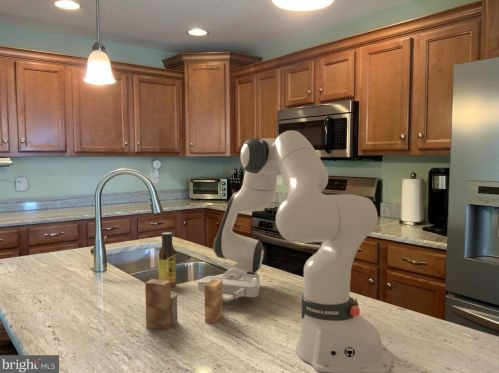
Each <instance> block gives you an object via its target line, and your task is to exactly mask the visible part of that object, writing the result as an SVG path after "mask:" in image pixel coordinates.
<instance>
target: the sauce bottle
mask: <svg viewBox="0 0 499 373" xmlns="http://www.w3.org/2000/svg"><path fill="white" fill-rule="evenodd" d="M173 236H174V235H173V232H162V233H161V247H160V248H159V251H158V280H167V281H171V288H174V287H175V286H176V282H177V274H176V272H177V270H176V269H177V266H176V265H177V259H176V258H177V256H176V255H177V254H176V252H175V251H176V250H175V248H174V245H173Z"/></svg>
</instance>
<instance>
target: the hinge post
mask: <svg viewBox="0 0 499 373" xmlns="http://www.w3.org/2000/svg"><path fill="white" fill-rule="evenodd" d="M144 284H145V285H144V287H145V326H146V327H145V328H146V329H154V330H159V331H160V330H161V331H167V330H168V329H169V328H170V327H171V326H174V325H175V324H176V323H177V322H178V294H172V287H171V281H167V280H159V279H155V278H151V279H150V280H148V281H146V282H145V283H144Z"/></svg>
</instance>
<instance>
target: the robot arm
mask: <svg viewBox="0 0 499 373" xmlns="http://www.w3.org/2000/svg"><path fill="white" fill-rule="evenodd" d="M240 165H241V167H242V168H243V170H244V171H245V172H244V176H243V180H242V185H241V188H240V189H239V190H238V191H235V192H234V193H233V194H232V195H231V197H230V199H229V200H228V203H227V205H226V209H225V212H224V214H223V217H222V220H221V223H220V226H219V228H218V231H217V233H216V236H215V238H214V241H213V244H212V250H213V253H215V255H216V257H217V258H220V259H223V260H229V261H232V262H235V264H234V265H233V266H232V267H230V268H228V269H227V270H226V271H225V272H224V273H223V275H222V276H217V275H216V276H215V275H208V276H207V275H206V276H205V277H202V278H200V279H199V280H198V281H197V290H198V292H199V293H204V294H203V295H204V296H205V285H206V284H207V283H209V282H210V281H211V280H212V279H214V280H222V290H223V295H227V296H232V298H233V299H238V298H242V297H247V298H257V297H258V296H259V295H260V286H261V284H260V283H261V281H260V273H258V272H259V270H260V269H261V267H262V265H263V262H264V259H265V252H266V251H265V248H264V246H263V245H264V244H263V243H262V242H261V241H260V240H259V239H258V240H257V239H254V238H251V237H248V236H244V235H241V234H238V233H236V232H235V231H233V229H234V225H235V223H236V220H237V216H238V214H239V213H242V212H248V211H249V212H250V211H251V212H252V211H258V210H262V209H264V208H266V207H267V206H269V205H270V204H271V203H272V201H273V199H274V196H275V193H276V192H275V191H276V187H277V183H278V182H277V181H278V176H282V177H283V180H284V182H285V185H286V188H287V197H286V199H284V200H283V201H282V202H281V203H280V205H279V206H278V208H277V210H276V215H275V225H276V228H277V231H278V232H279V234H280V235H281V237H282V238H283V239H285V240H286V241H288V242H289V241H290V242H296V243H303V244H304V243H305V244H308V243H309V244H310V243H319V242H321V246H320V247H319V249H318V250H317V252H315V253H314V254H313V255H312V256H310V257H309V258H308V259H307V260H306V261H305V264H304V266H303V293H302V295H301V300H300V308H301V309H300V314H301V320H302V321H301V327H300V328H301V329H300V335H299V337H298V338H299V339H298V342H297V346H296V348H295V349H296V354H297V356H298V357H299V358H300V359H301V360H303V361H304V362H306V363H308V364H309V365H311V366H312V368H314V369H315V370H316V371H317V372H320V373H390V371H391V370H392V366H393V360H392V353H391V352H390V350H389V348H388V347H387V346H386V345H384V344H383V343H382V342H383V341H382V338H381V335H380V333H379V330H378V328H376V327H375V325H373V324H372V323H371V322H369V321H368V320H367V319H366V318H364V317H363V316H362V315H361V314H360V311H361V309H360V307H359V303H358V300H357V298H353V297H351V296H350V294H351V275H352V268H353V263H354V260H355V257H356V255H357V252H358V250H359V248H360V246H361V245H362V243H363V242H364V240H365V239H366V238H367V237H368V236H369V235H370V234H371V233H372V232H373V231H374V230H375V228H376V226H377V223H378V211H377V207H376V205H375V204H374V202H373V201H372V200H371V199H370V198H368V197H366V196H361V195H358V194H357V195H356V194H349V193H348V194H347V193H346V194H344V193H343V194H324V193H322V192H323V191H324V190H325V189H326V187H327V185H328V182H329V173H328V170H327V168H326V166H325V165H324V163H323V161H322V160H321V158H320V156H319V154H318V152H317V151H316V149H315V148H314V146H313V145H312V144H311V142H310V141H309V140H308V139H307V138H306V136H305V135H303V134H302V133H301V132H299V131H298V130H286V131H284V132H282V133H281V134H279V135H278V136H277V137H276V138H270V137H269V138H258V137H256V138H255V137H254V138H250V139H247V140H246V141H245V142H244V143H243V144H242V146H241V149H240Z"/></svg>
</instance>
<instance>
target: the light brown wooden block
mask: <svg viewBox="0 0 499 373" xmlns="http://www.w3.org/2000/svg"><path fill="white" fill-rule="evenodd" d="M223 295H224V294H223V290H222V280H214V279H212V280H211V281H210V282H209V283H207V284H206V285H205V295H204V323H207V324H208V323H209V324H215V325H216V323H217V322H218V321H219V320H221V318H222V317H223V315H224V314H223V313H224V312H223V309H224V308H223V307H224V305H223V303H224V302H223V297H224V296H223Z"/></svg>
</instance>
